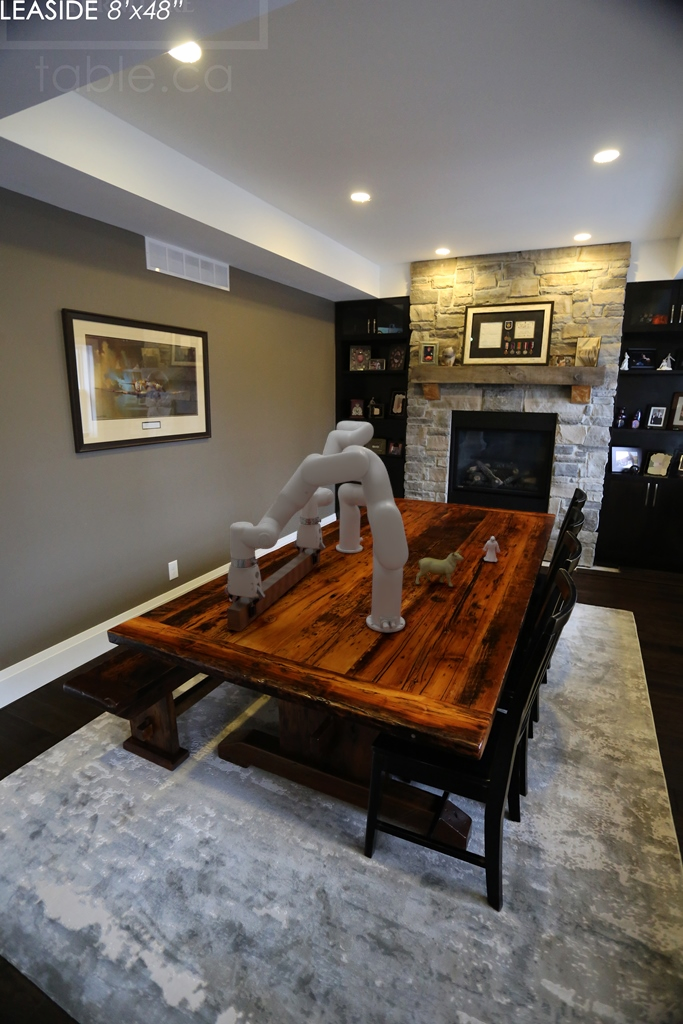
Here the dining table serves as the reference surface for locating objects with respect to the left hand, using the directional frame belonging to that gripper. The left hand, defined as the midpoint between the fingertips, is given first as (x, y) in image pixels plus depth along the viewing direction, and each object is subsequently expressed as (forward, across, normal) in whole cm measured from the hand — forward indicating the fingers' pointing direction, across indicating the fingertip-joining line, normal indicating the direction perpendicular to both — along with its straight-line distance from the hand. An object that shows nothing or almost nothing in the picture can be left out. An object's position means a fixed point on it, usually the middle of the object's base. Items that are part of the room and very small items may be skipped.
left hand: (309, 562), depth 209 cm
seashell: (+3, +13, +38) cm, 40 cm away
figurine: (+4, -71, -42) cm, 82 cm away
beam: (+2, 0, +26) cm, 26 cm away
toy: (+3, -53, -4) cm, 53 cm away
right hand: (0, 0, +52) cm, 52 cm away
